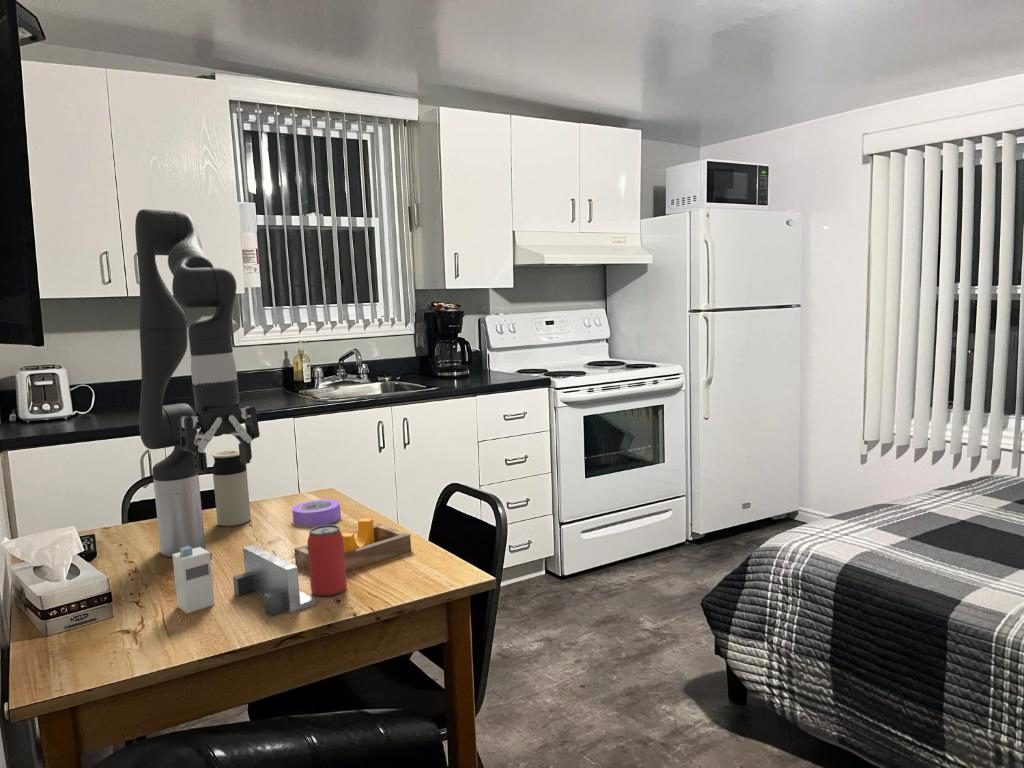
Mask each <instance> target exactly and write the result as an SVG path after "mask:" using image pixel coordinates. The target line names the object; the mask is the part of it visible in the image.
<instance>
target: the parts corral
mask: <svg viewBox="0 0 1024 768" xmlns="http://www.w3.org/2000/svg"><path fill="white" fill-rule="evenodd" d="M373 529H374V543H373V544H370V545H366V546H363V547H360V548H357V549H354V550H352V551H347V552H344V557H345V571H346V573H347V572H349V571H352V570H355V569H358V568H362V567H365V566H368V565H369V564H370V565H371V564H373V563H376V562H380V561H382V560H386V559H388V558H391V557H395V556H398V555H401V554H404V553H407V552H410V551H412V544H411V543H412V542H411V534H410V533H406V532H404V531H401V530H398V529H395V528H392V527H390V526H386V525H383V524H380V523H378V524H373ZM349 533H354V534H356V533H358V529H357V530H354V531H350V532H349ZM294 557H295V558H294V559H295V566H297V567H300V568H301V569H303V570H306V571H308V572H310V569H309V556H308V544H305V545H302V546H299V547H295V548H294Z"/></svg>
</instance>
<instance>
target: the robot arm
mask: <svg viewBox="0 0 1024 768" xmlns="http://www.w3.org/2000/svg"><path fill="white" fill-rule="evenodd" d="M134 228H135V231H134V232H135V245H136V247H135V248H136V257H137V266H138V279H139V281H138V282H139V345H140V361H141V362H140V365H141V366H140V367H141V369H140V370H141V384H140V385H141V386H140V388H141V389H140V398H139V399H140V402H139V417H138V426H139V434H140V438H141V441H142V445H144V447H145V448H146V449H147V450H148V449H149V450H159V449H166V448H171V447H172V448H173V450H172V451H171V453H170V454H169V455H168V456H167V457H165V458H164V459H162V460H160V461H159V462H157V463H155V464H154V465H153V467H152V471H151V472H152V479H153V480H152V482H153V489H154V496H155V497H154V499H155V509H156V517H157V518H156V519H157V527H158V538H159V546H160V554H161V556H163V557H168V558H170V557H171V558H173V556H172V554H175V553H179V552H180V548H183V547H186V546H190V547H192V549H194V548H198V547H201V548H203V549H205V548H206V540H205V530H204V529H205V528H204V519H203V510H202V499H201V490H200V489H201V488H200V487H201V486H200V479H199V474H202V475H204V474H207V473H209V470H208V462H207V461H208V460H207V452H205V450H206V448H207V446H208V444H209V443H210V442H211V441H212V440H213V437H214V438H215V437H220V436H222V435H232V436H234V438H235V439H236V440H237V441H238V442H239V443H238V450H239V454H240V462H241V463H242V464H246V465H247V464H251V460H252V458H253V453H252V452H253V451H252V441H253V440H255V439H258V438H259V437H260V433H261V432H260V428H259V422H258V415H257V410H256V407H255V406H243V408H240V406H239V402H240V393H239V391H240V390H239V383H238V373H237V366H236V365H237V364H236V360H235V357H234V353H233V340H232V331H231V330H232V329H231V327H232V318H233V316H232V315H233V308H234V305H235V300H236V294H237V282H236V278H235V276H234V275H233V272H231V271H230V269H228V268H226V267H223V266H222V267H221V266H220V267H219V266H218V267H216V266H215V267H214V265H213V263H212V262H211V260H210V258H209V257H208V255H207V254H206V253H205V252H204V251H203V246H202V243H201V239H200V236H199V233H198V229H197V226H196V224H195V222H194V219H193V218H192V217H191V216H190V214H188V213H186V212H182V211H176V210H163V209H162V210H160V209H146V208H145V209H140V210H138V212H137V214H136V217H135V226H134ZM156 256H167V265H168V269H169V271H170V273H171V274H172V275H173V278H172V284H171V286H172V287H171V288H172V289H171V291H172V292H171V291H170V289H169V288H168V287H167V285H166V284H165V282H164V280H163V278H162V277H161V274H160V272H159V269H158V265H157V261H156ZM182 307H183V308H187V309H201V308H215V312H214V314H213V316H211V317H210V318H208V319H203V320H200V321H196V322H193V323H191V324H190V325H189V326H188V318H187V316H186V313H185V311H184V310H183V308H182ZM188 341H189V351H190V374H191V383H192V391H193V393H192V394H193V401H194V406H195V409H196V413H195V411H194V409H193V408H192V406H190V404H188V403H175V404H173V403H172V404H168V405H163V404H164V396H165V392H166V388H167V387H168V384H169V381H170V379H171V378H172V376H173V375H174V373H175V372H176V370H177V369H178V367H179V365H180V363H181V362H182V360H183V358H184V356H185V354H186V352H187V349H188ZM241 418H242V419H243V421H244V427H245V428H244V427H243V425H242V424H241V423H240V422H239V421H240V420H241ZM198 426H199V429H198Z"/></svg>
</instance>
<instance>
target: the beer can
mask: <svg viewBox="0 0 1024 768" xmlns="http://www.w3.org/2000/svg"><path fill="white" fill-rule="evenodd" d="M308 532H309V533H308V538H307V545H308V556H309V569H310V571H309V579H310V590H311V593H313V594H314V595H315V596H319V597H330V596H334V595H337V594H340V593H342V592H344V591H345V589H346V588H347V584H348V583H347V574H346V573H347V572H346V571H345V557H344V544H343V536H342V532H341V530H340V526H338V525H336V524H326V525H320V526H313V528H311V529H310V530H309V531H308Z"/></svg>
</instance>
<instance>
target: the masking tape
mask: <svg viewBox="0 0 1024 768" xmlns="http://www.w3.org/2000/svg"><path fill="white" fill-rule="evenodd" d="M291 511H292V519H293V524H294V523H295V524H296V526H298V525H300V526H299V527H318V526H322V525H331V524H333V523H335V522H337V521H339V520H340V519H341V517H342V513H341V503H340V501H339V500H336V499H331V498H329V499H328V498H327V499H314V500H307V501H303V502H300V503H298V504H295V505H294V506H293V507H292V509H291ZM295 524H294V525H295Z"/></svg>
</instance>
